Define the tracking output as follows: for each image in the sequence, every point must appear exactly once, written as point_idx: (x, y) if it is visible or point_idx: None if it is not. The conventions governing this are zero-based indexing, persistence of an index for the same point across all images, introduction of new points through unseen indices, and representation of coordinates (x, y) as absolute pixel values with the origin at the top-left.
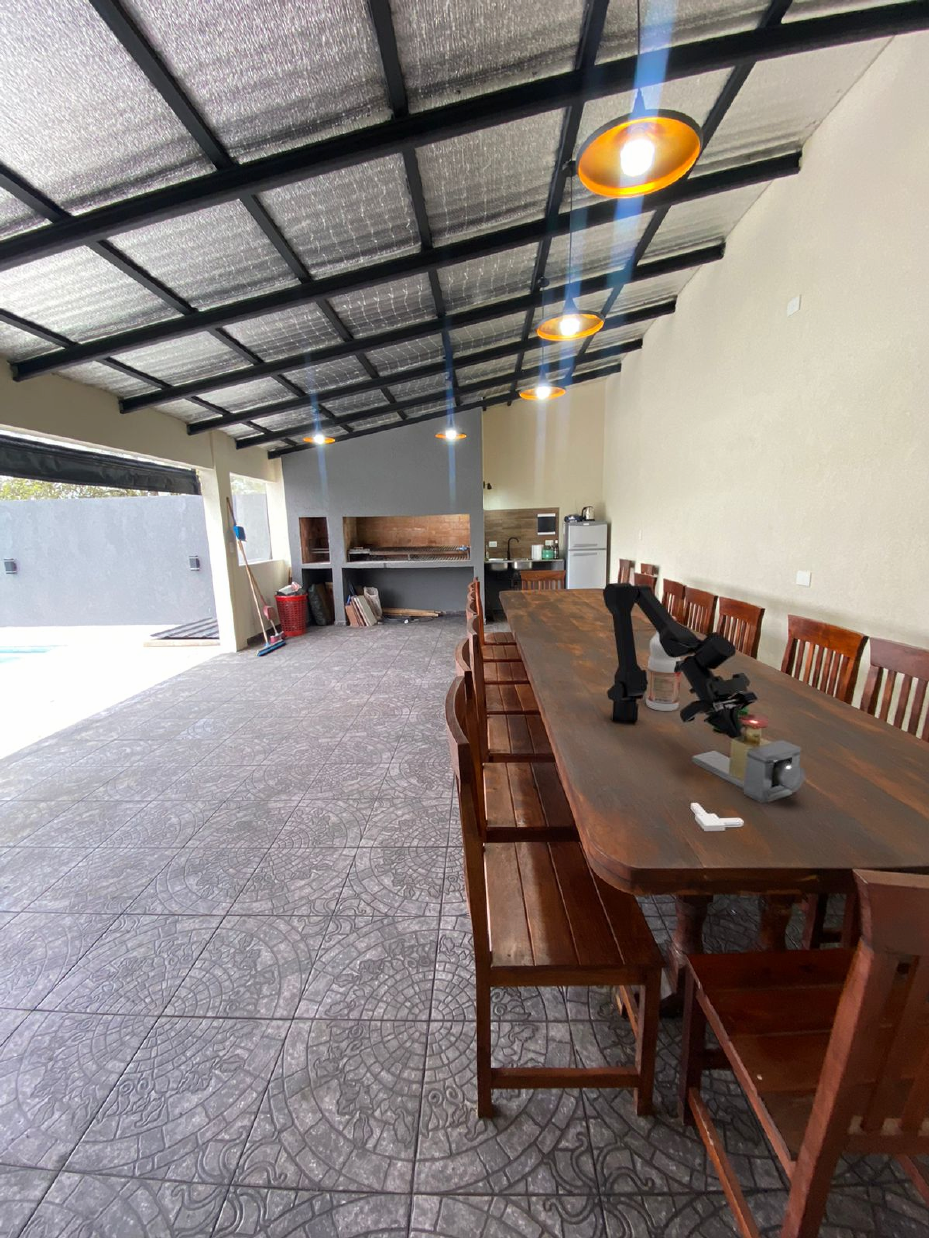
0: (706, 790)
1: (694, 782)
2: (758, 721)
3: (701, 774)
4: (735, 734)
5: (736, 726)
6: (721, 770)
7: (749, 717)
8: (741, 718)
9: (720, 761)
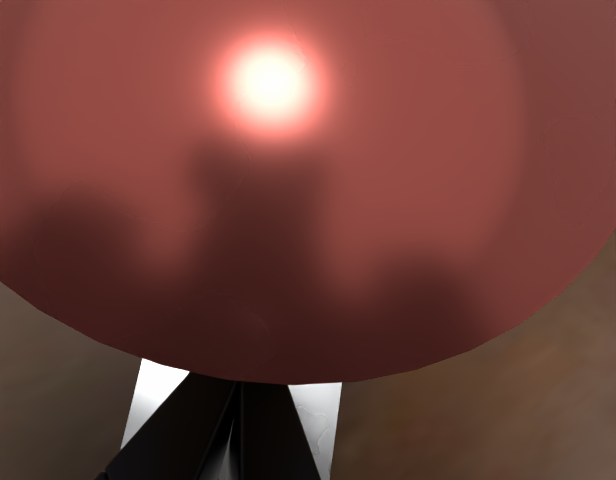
0: (513, 342)
1: (501, 428)
2: None
3: (395, 466)
4: (286, 394)
5: (201, 459)
6: (336, 391)
7: (277, 111)
8: (563, 213)
9: (224, 473)
